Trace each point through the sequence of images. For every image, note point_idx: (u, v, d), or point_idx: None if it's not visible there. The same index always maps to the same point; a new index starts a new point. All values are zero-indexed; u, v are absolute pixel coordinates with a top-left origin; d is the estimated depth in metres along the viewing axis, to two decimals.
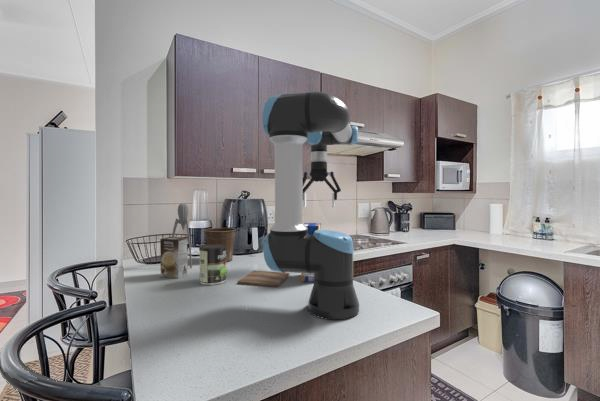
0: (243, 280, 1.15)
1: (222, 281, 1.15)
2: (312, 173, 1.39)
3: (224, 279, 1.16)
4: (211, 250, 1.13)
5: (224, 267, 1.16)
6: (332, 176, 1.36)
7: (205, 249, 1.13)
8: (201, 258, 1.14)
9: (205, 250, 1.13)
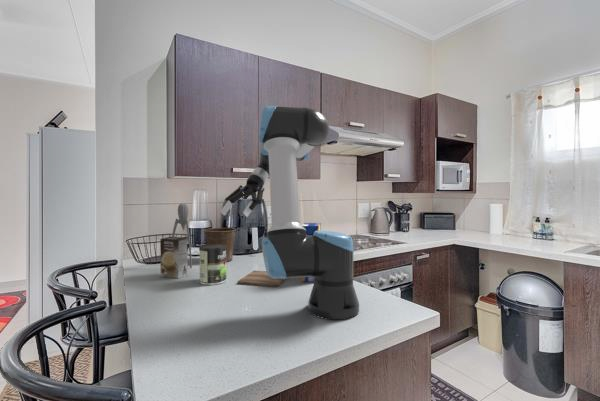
0: (243, 280, 1.15)
1: (222, 281, 1.15)
2: (245, 186, 1.36)
3: (224, 279, 1.16)
4: (211, 250, 1.13)
5: (224, 267, 1.16)
6: (259, 188, 1.30)
7: (205, 249, 1.13)
8: (201, 258, 1.14)
9: (205, 250, 1.13)
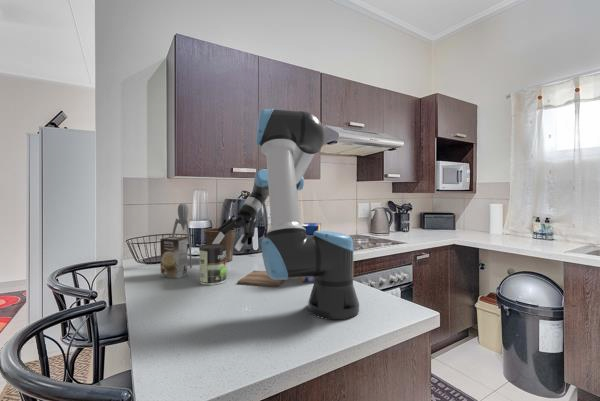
0: (243, 280, 1.15)
1: (222, 281, 1.15)
2: (238, 216, 1.33)
3: (224, 279, 1.16)
4: (211, 250, 1.13)
5: (224, 267, 1.16)
6: (251, 220, 1.27)
7: (205, 249, 1.13)
8: (201, 258, 1.14)
9: (205, 250, 1.13)
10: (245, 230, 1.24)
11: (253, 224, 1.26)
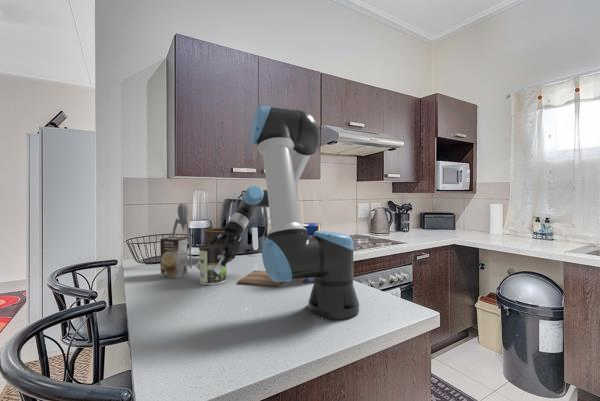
0: (243, 280, 1.15)
1: (222, 281, 1.15)
2: (223, 233, 1.26)
3: (224, 279, 1.16)
4: (211, 250, 1.13)
5: (224, 267, 1.16)
6: (235, 239, 1.19)
7: (205, 249, 1.13)
8: (201, 258, 1.14)
9: (205, 250, 1.13)
10: (226, 251, 1.16)
11: (236, 244, 1.18)
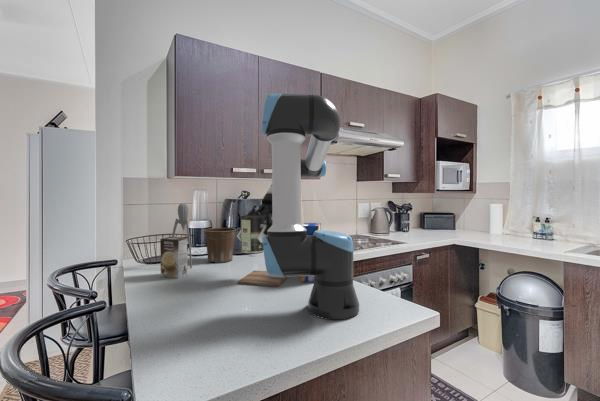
0: (243, 280, 1.15)
1: None
2: (261, 206, 1.27)
3: None
4: (255, 219, 1.14)
5: None
6: None
7: (248, 218, 1.14)
8: (244, 227, 1.16)
9: (248, 219, 1.14)
10: (268, 221, 1.18)
11: None
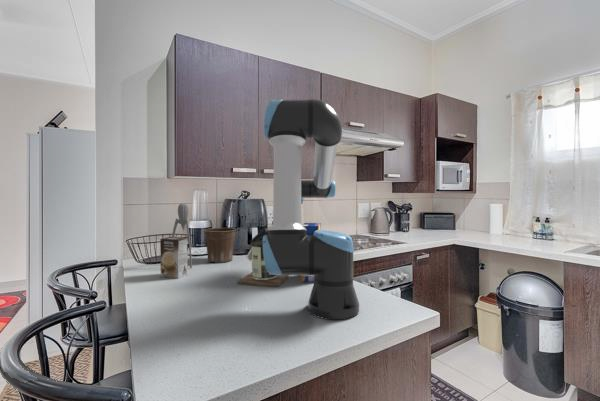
0: (243, 280, 1.15)
1: (275, 276, 1.17)
2: None
3: None
4: None
5: None
6: None
7: (258, 245, 1.15)
8: (254, 254, 1.16)
9: (258, 246, 1.15)
10: None
11: None
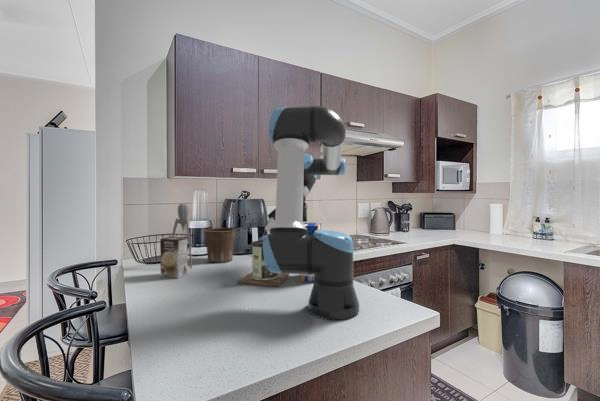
0: (243, 280, 1.15)
1: (275, 276, 1.17)
2: None
3: (276, 275, 1.19)
4: None
5: None
6: (303, 206, 1.31)
7: (259, 245, 1.15)
8: (255, 254, 1.16)
9: (259, 246, 1.15)
10: None
11: (305, 209, 1.30)
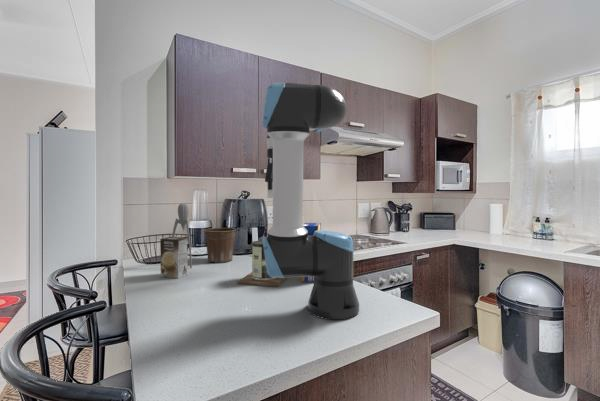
0: (243, 280, 1.15)
1: None
2: None
3: None
4: None
5: None
6: None
7: (259, 245, 1.15)
8: (255, 254, 1.16)
9: (259, 246, 1.15)
10: None
11: None
